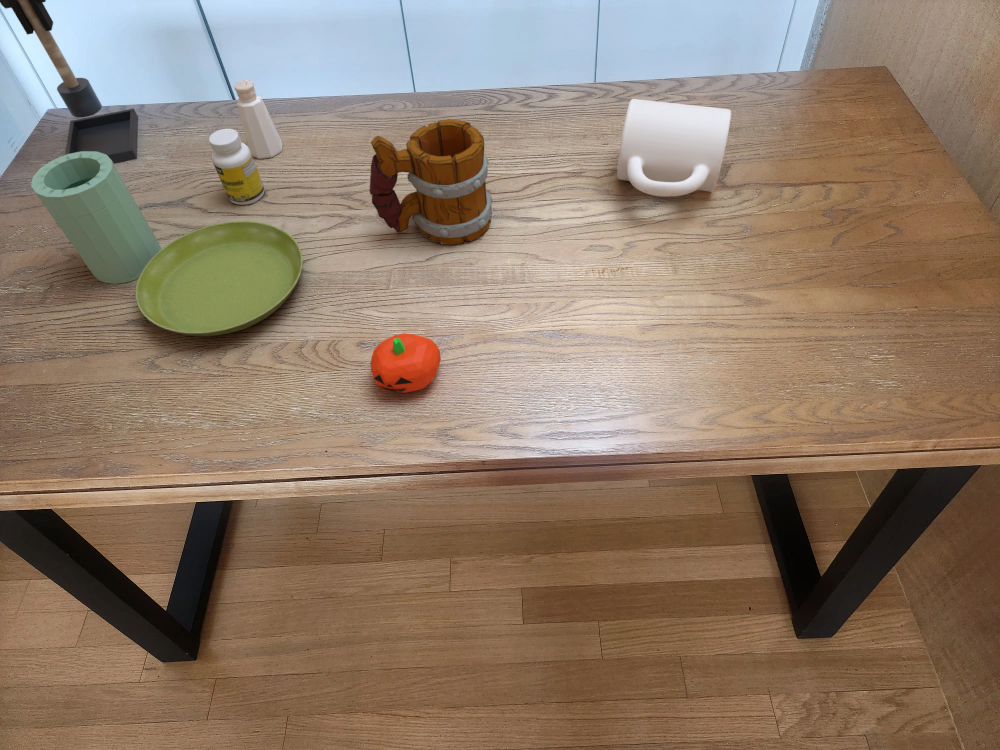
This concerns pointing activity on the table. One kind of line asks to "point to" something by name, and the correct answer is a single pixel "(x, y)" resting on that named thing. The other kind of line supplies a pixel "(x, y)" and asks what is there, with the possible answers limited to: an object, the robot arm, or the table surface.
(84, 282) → the table surface
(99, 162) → the jar
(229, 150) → the supplement bottle
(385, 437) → the table surface
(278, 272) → the saucer
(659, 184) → the mug
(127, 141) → the tray
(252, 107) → the salt shaker
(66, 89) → the wooden handled plunger
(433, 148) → the mug
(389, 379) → the pumpkin
